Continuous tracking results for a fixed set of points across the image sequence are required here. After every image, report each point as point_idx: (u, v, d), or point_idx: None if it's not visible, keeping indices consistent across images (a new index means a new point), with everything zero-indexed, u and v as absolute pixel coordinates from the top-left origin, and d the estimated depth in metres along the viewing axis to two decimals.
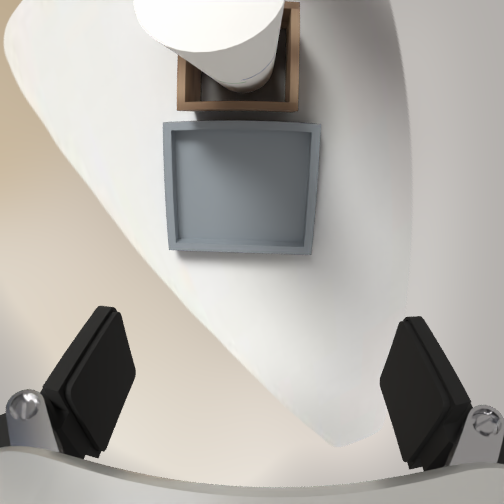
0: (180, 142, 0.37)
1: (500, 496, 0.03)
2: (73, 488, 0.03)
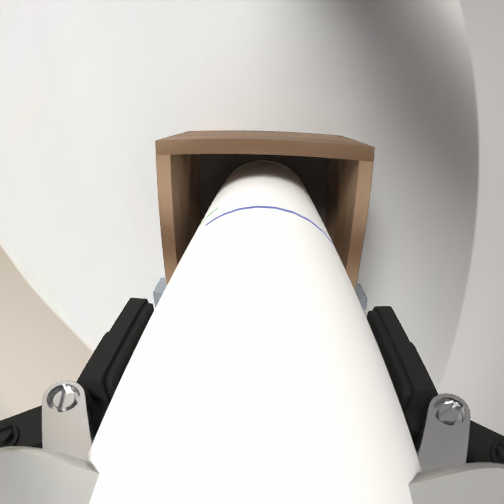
0: None
1: (500, 496, 0.03)
2: (73, 488, 0.03)
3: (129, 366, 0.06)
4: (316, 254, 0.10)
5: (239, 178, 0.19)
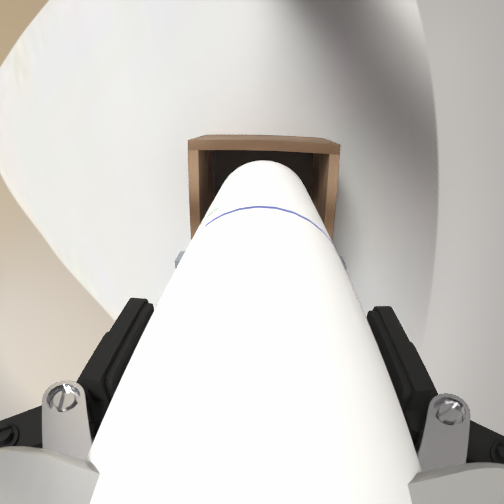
0: None
1: (500, 496, 0.03)
2: (73, 488, 0.03)
3: (129, 366, 0.06)
4: (316, 253, 0.10)
5: (239, 178, 0.19)
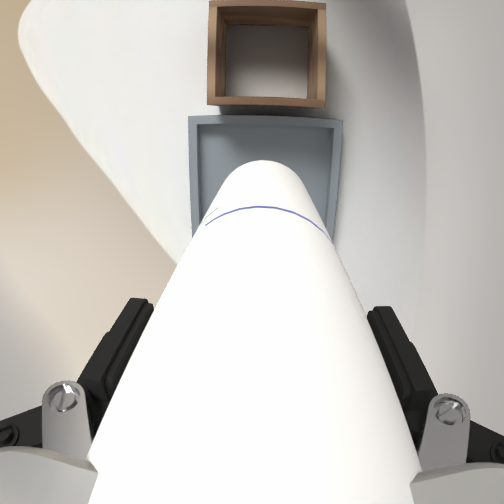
0: (204, 136, 0.38)
1: (500, 496, 0.03)
2: (73, 488, 0.03)
3: (128, 367, 0.06)
4: (316, 254, 0.09)
5: (239, 178, 0.19)
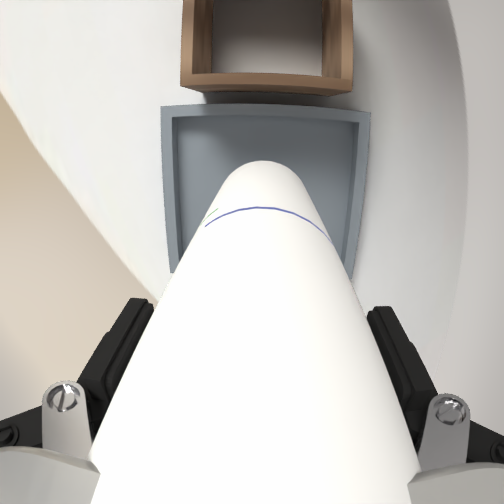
0: (184, 133, 0.28)
1: (500, 496, 0.03)
2: (73, 488, 0.03)
3: (128, 368, 0.06)
4: (317, 255, 0.09)
5: (239, 178, 0.19)
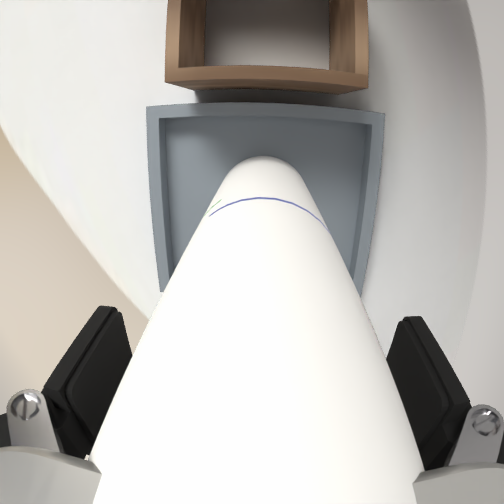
0: (173, 136, 0.24)
1: (500, 496, 0.03)
2: (73, 488, 0.03)
3: (142, 339, 0.07)
4: (314, 239, 0.10)
5: (240, 172, 0.20)
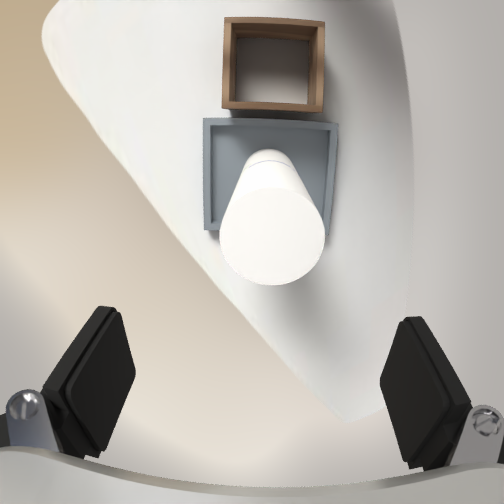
0: (217, 135, 0.43)
1: (500, 496, 0.03)
2: (73, 488, 0.03)
3: (237, 188, 0.25)
4: (289, 170, 0.29)
5: (258, 155, 0.38)
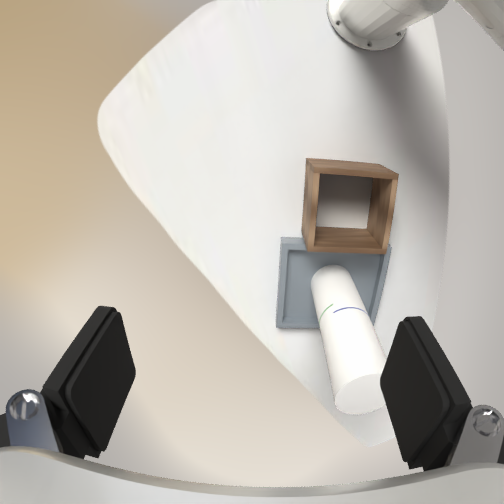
0: (290, 254, 0.52)
1: (500, 496, 0.03)
2: (73, 488, 0.03)
3: (339, 353, 0.35)
4: (367, 325, 0.38)
5: (331, 283, 0.47)
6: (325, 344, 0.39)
